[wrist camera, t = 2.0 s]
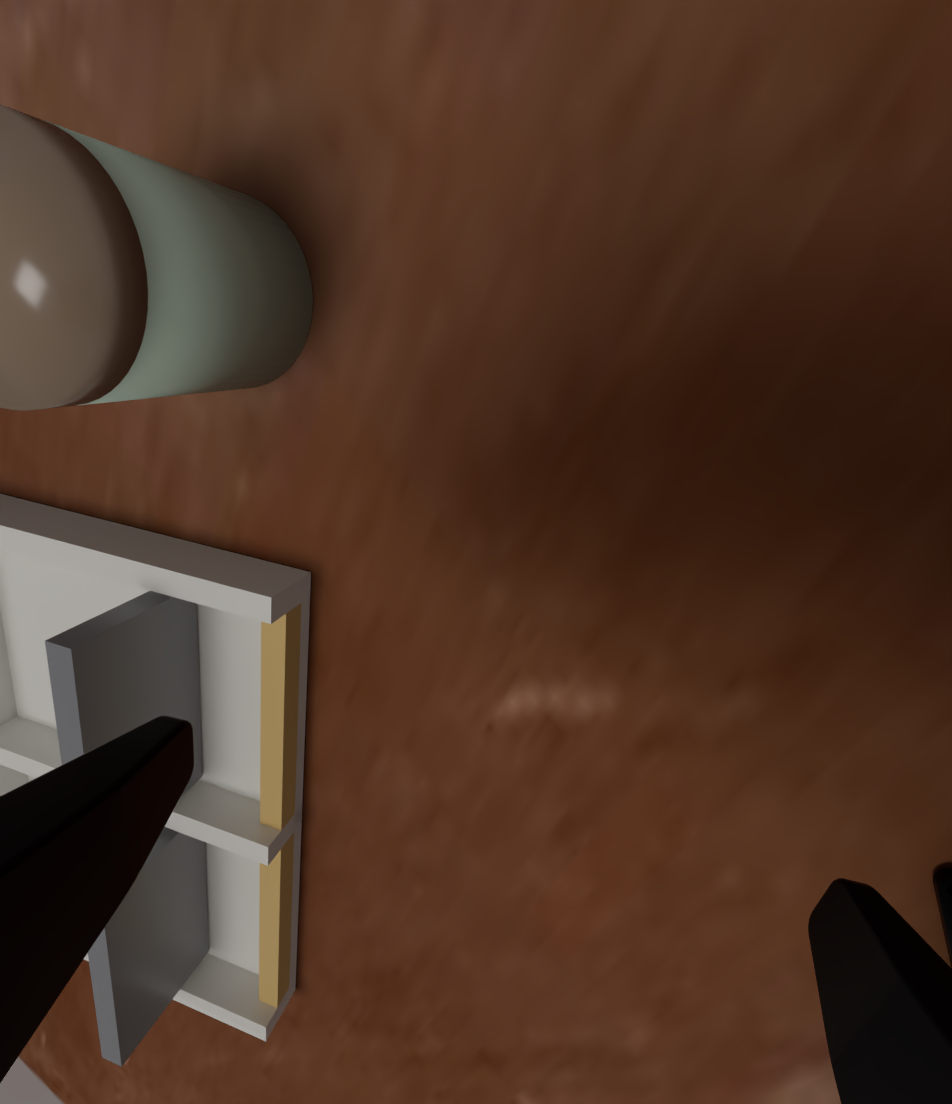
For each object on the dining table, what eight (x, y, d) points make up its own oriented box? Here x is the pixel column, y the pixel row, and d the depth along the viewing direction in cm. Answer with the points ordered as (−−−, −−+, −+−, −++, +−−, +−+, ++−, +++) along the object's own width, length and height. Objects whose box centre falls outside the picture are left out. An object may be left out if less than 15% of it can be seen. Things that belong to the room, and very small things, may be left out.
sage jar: (340, 351, 20) (149, 354, 12) (203, 412, 22) (-30, 444, 14) (265, 154, 18) (2, 27, 11) (127, 239, 20) (-169, 180, 13)
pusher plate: (195, 585, 23) (70, 649, 18) (202, 776, 27) (98, 873, 22) (173, 579, 24) (44, 640, 19) (183, 769, 27) (75, 864, 22)
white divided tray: (311, 571, 22) (195, 646, 17) (295, 989, 31) (213, 1132, 25) (-22, 488, 26) (-208, 526, 20) (43, 882, 34) (-78, 986, 29)
